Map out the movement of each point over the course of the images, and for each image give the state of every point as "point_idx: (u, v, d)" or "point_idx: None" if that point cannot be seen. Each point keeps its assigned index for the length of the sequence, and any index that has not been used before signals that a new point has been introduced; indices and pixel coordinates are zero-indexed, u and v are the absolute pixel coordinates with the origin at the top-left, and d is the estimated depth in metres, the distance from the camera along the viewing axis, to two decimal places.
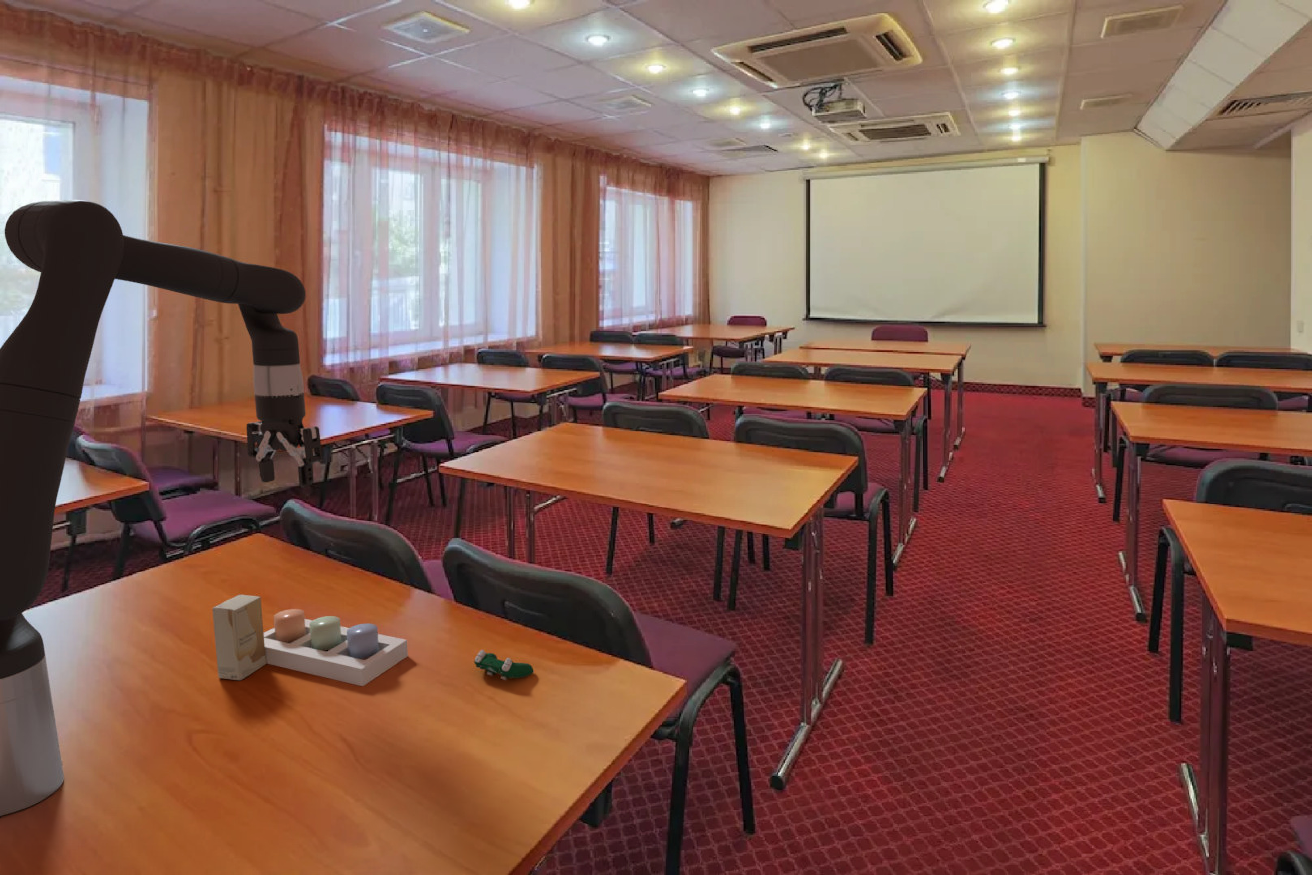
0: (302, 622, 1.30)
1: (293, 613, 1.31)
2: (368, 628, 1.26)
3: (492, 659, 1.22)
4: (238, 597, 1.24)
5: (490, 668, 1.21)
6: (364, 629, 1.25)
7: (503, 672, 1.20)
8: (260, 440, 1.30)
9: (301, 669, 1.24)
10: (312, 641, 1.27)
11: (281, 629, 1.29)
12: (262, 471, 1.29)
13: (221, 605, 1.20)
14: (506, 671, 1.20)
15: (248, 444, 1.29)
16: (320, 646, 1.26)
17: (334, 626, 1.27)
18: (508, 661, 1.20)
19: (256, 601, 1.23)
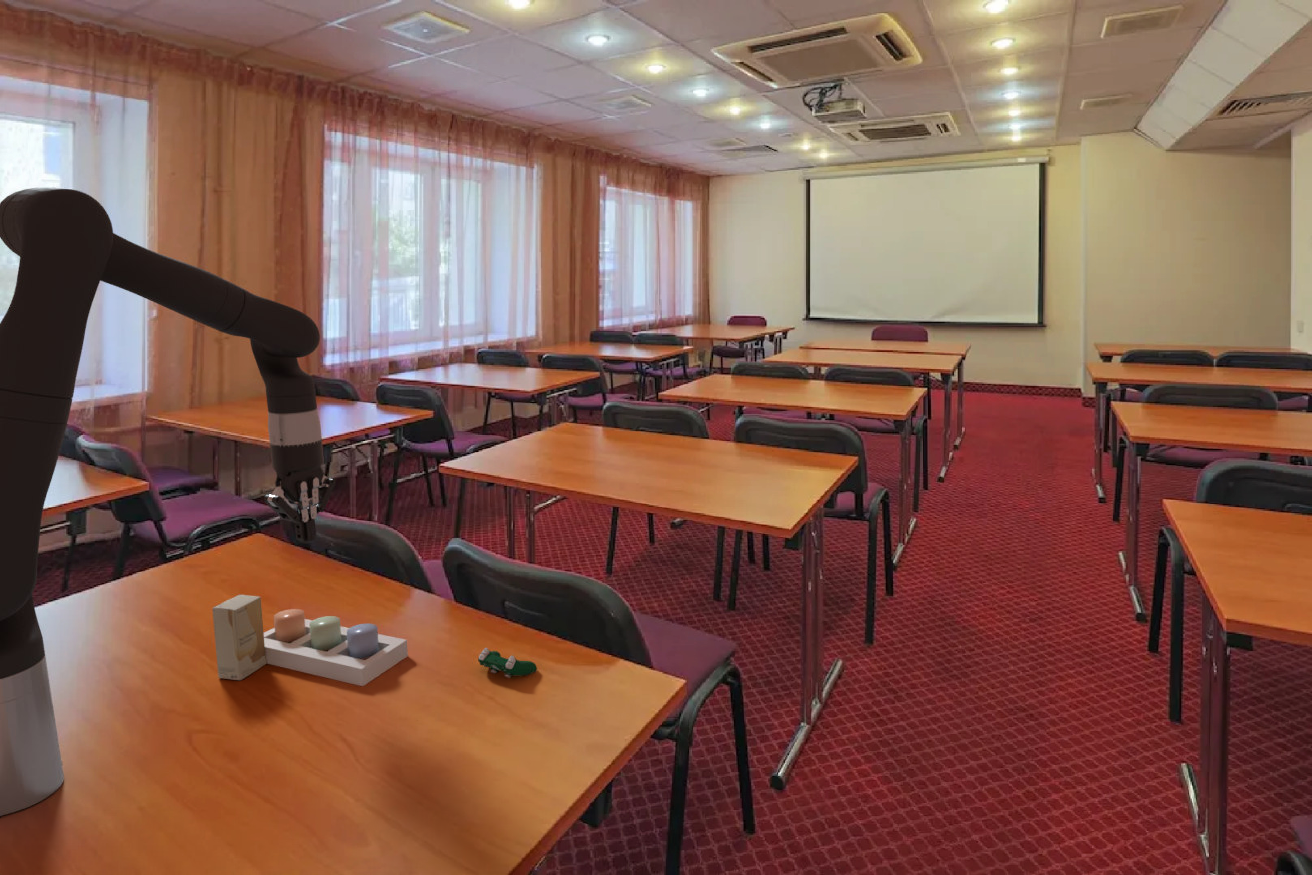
0: (302, 622, 1.30)
1: (293, 613, 1.31)
2: (368, 628, 1.26)
3: (495, 657, 1.23)
4: (238, 597, 1.24)
5: (494, 666, 1.22)
6: (364, 629, 1.25)
7: (507, 670, 1.21)
8: None
9: (301, 669, 1.24)
10: (312, 641, 1.27)
11: (281, 629, 1.29)
12: (309, 531, 1.21)
13: (221, 605, 1.20)
14: (509, 669, 1.21)
15: (289, 513, 1.17)
16: (320, 646, 1.26)
17: (334, 626, 1.27)
18: (512, 659, 1.21)
19: (256, 601, 1.23)
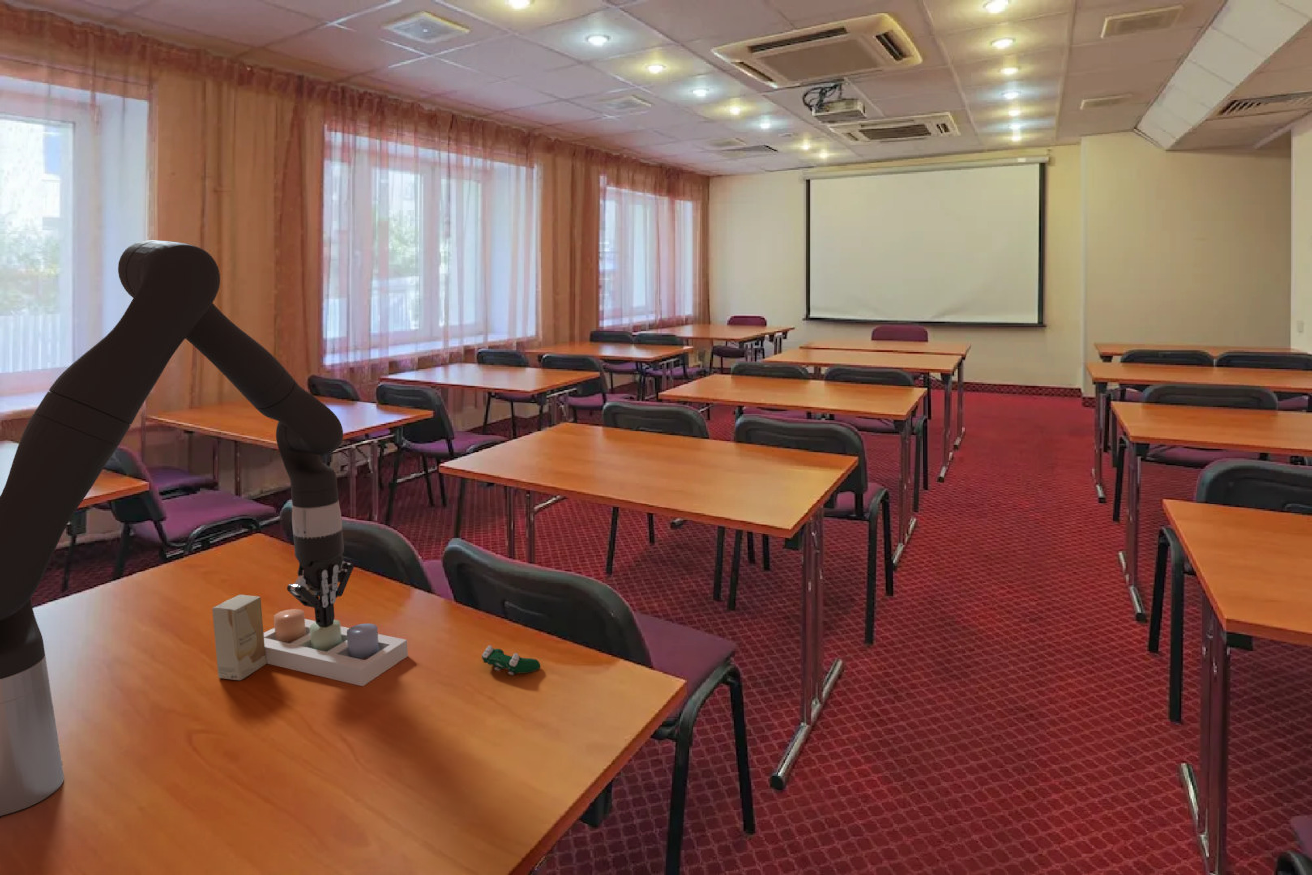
0: (302, 622, 1.30)
1: (293, 613, 1.31)
2: (368, 628, 1.26)
3: (499, 654, 1.24)
4: (238, 597, 1.24)
5: (498, 663, 1.23)
6: (364, 629, 1.25)
7: (510, 667, 1.22)
8: None
9: (301, 669, 1.24)
10: (312, 644, 1.27)
11: (281, 629, 1.29)
12: (328, 615, 1.27)
13: (221, 605, 1.20)
14: (513, 666, 1.21)
15: (310, 601, 1.23)
16: (320, 649, 1.26)
17: (334, 629, 1.27)
18: (515, 656, 1.22)
19: (256, 601, 1.23)
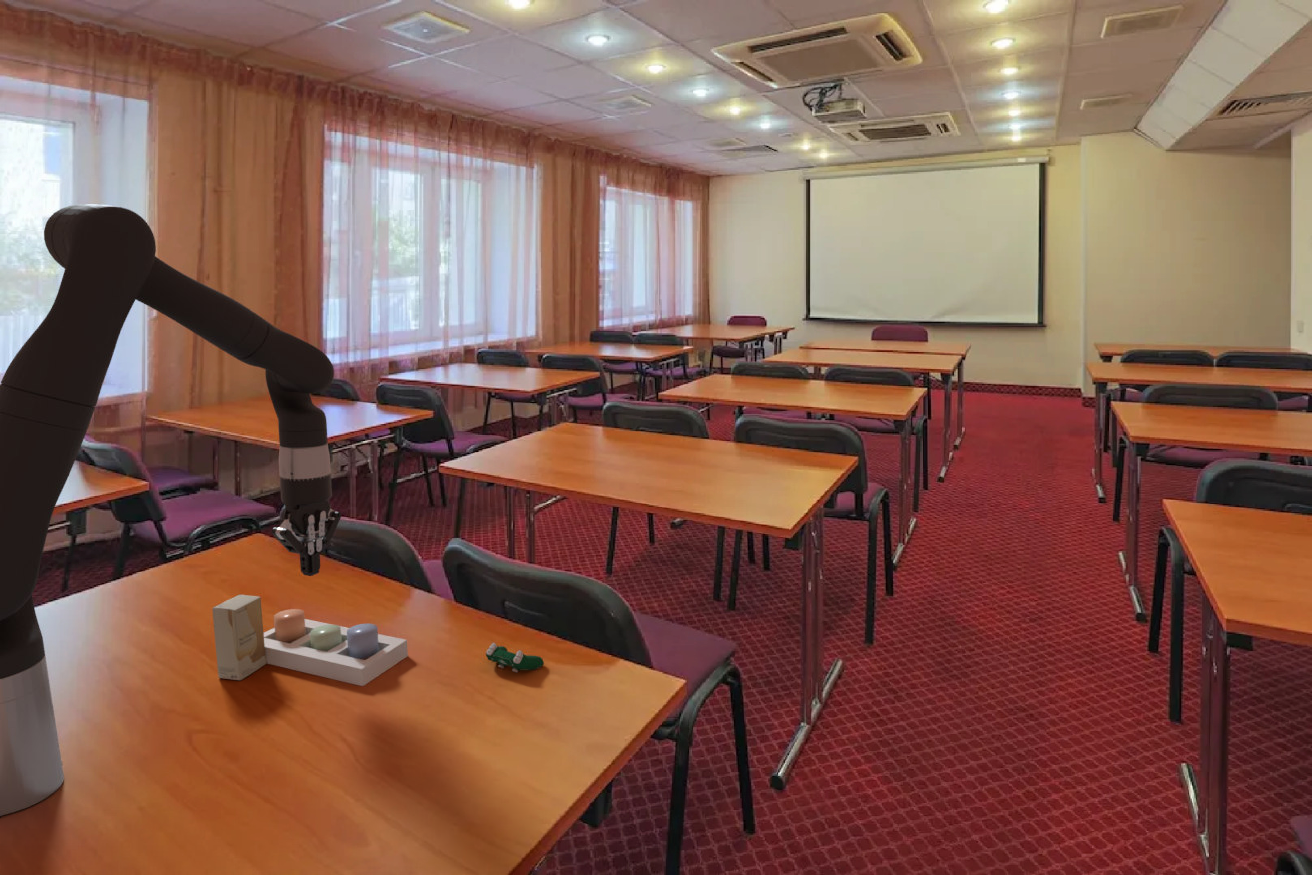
0: (302, 622, 1.30)
1: (293, 613, 1.31)
2: (368, 628, 1.26)
3: (503, 652, 1.24)
4: (238, 597, 1.24)
5: (502, 660, 1.24)
6: (364, 629, 1.25)
7: (514, 664, 1.23)
8: None
9: (301, 669, 1.24)
10: None
11: (281, 629, 1.29)
12: (314, 563, 1.23)
13: (221, 605, 1.20)
14: (517, 664, 1.22)
15: (296, 546, 1.19)
16: None
17: (335, 634, 1.27)
18: (519, 653, 1.23)
19: (256, 601, 1.23)
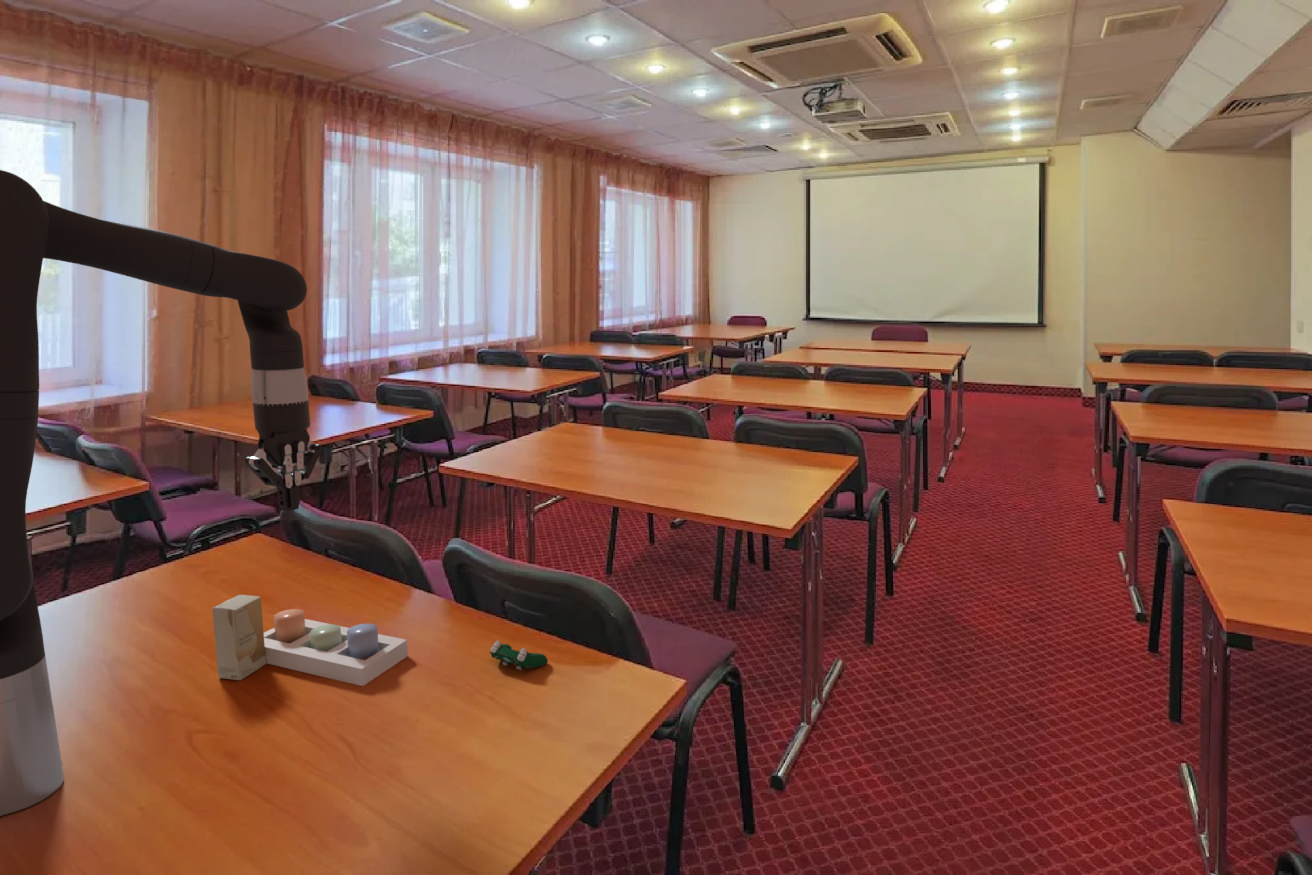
0: (302, 622, 1.30)
1: (293, 613, 1.31)
2: (368, 628, 1.26)
3: (507, 649, 1.25)
4: (239, 597, 1.24)
5: (506, 658, 1.25)
6: (364, 629, 1.25)
7: (518, 662, 1.23)
8: None
9: (301, 669, 1.24)
10: None
11: (281, 629, 1.29)
12: (293, 498, 1.14)
13: (221, 605, 1.21)
14: (521, 661, 1.23)
15: (272, 477, 1.10)
16: None
17: (335, 634, 1.27)
18: (523, 651, 1.24)
19: (256, 601, 1.24)
